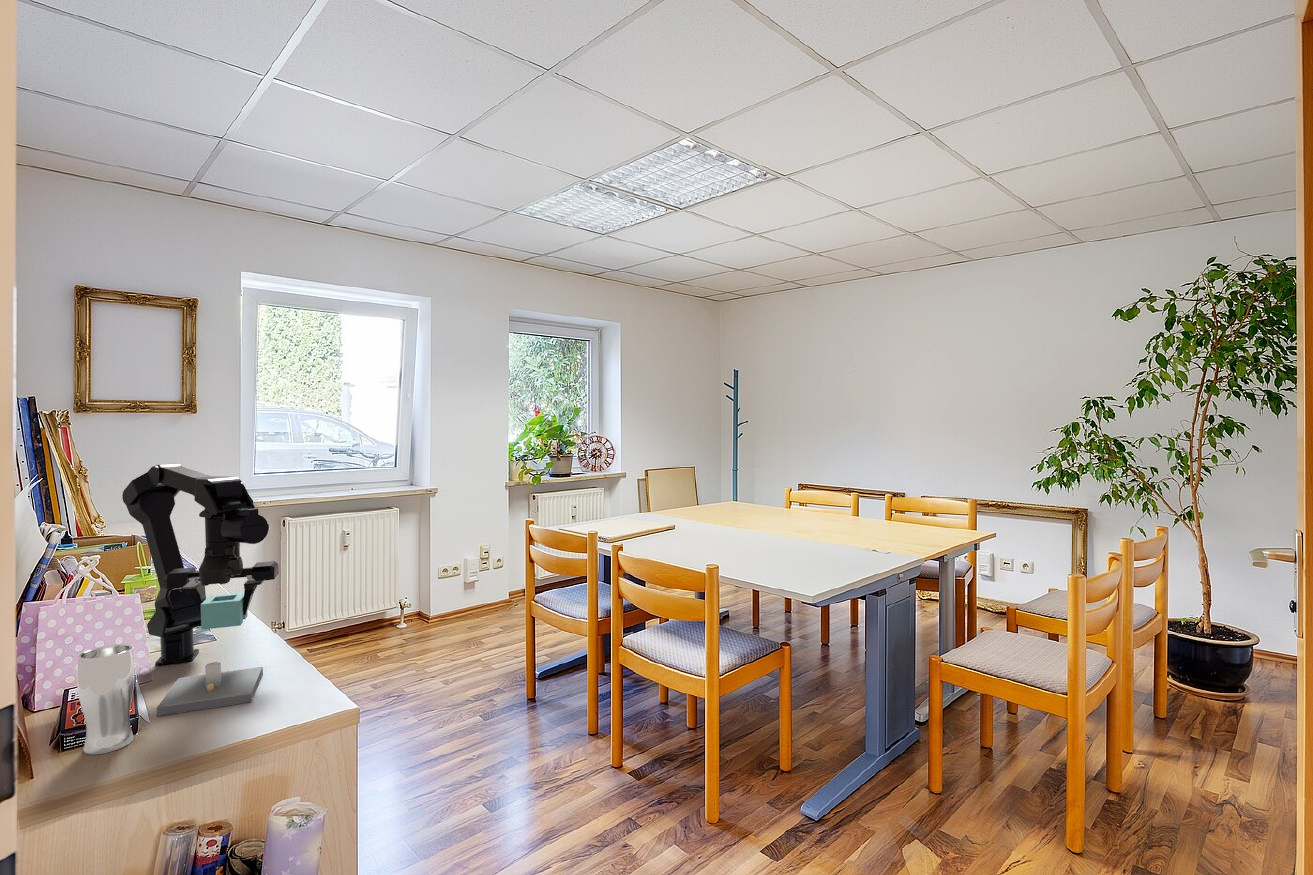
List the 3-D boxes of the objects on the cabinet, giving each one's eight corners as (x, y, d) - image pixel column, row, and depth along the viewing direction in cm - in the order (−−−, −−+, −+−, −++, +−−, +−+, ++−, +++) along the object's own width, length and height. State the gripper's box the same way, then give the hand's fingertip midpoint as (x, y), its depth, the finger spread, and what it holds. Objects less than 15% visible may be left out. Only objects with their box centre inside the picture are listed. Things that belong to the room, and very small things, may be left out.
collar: (210, 619, 135) (209, 595, 135) (247, 616, 138) (246, 592, 138) (201, 629, 129) (200, 604, 129) (240, 625, 132) (239, 600, 132)
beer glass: (90, 760, 99) (86, 662, 99) (72, 748, 103) (68, 653, 103) (144, 741, 105) (141, 648, 105) (126, 730, 109) (123, 640, 108)
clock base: (178, 685, 127) (177, 657, 127) (262, 674, 132) (262, 646, 132) (157, 716, 114) (155, 684, 114) (251, 701, 120) (250, 671, 119)
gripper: (152, 551, 122) (155, 634, 123) (268, 543, 129) (270, 622, 129) (172, 540, 132) (174, 617, 133) (278, 534, 139) (280, 607, 140)
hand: (225, 616), depth 134 cm, fingers closed on collar, 7 cm apart
